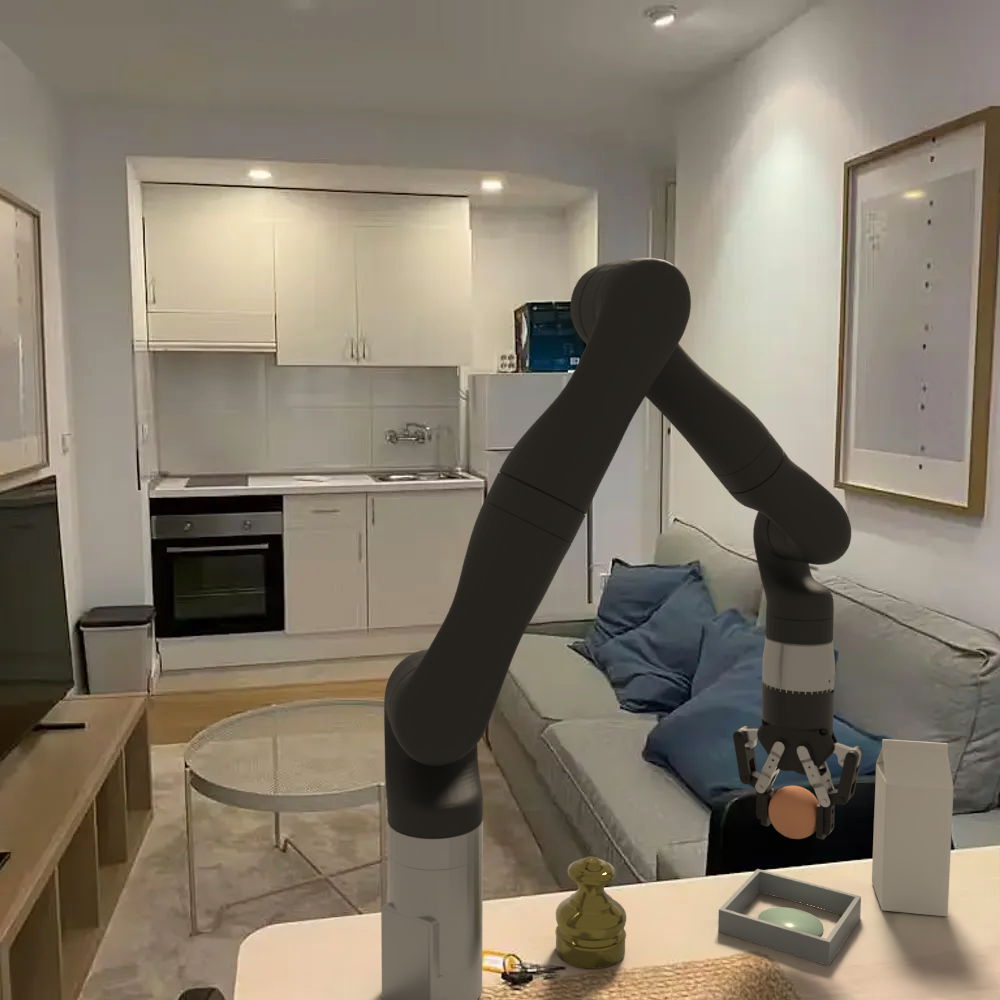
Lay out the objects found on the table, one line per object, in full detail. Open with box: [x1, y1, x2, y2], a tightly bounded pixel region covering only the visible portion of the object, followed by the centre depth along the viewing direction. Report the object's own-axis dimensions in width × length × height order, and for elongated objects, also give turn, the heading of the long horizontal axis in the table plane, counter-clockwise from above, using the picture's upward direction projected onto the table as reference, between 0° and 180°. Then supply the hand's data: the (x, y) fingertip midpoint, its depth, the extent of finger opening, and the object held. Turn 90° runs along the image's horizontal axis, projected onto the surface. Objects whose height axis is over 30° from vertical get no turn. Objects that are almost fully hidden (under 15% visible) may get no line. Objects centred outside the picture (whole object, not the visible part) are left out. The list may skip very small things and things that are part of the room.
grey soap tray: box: [717, 868, 862, 966], centre depth 112 cm, size 12×12×2 cm
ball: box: [768, 785, 819, 840], centre depth 111 cm, size 6×6×6 cm
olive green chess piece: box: [555, 856, 627, 969], centre depth 106 cm, size 7×7×10 cm
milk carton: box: [871, 738, 955, 917], centre depth 117 cm, size 7×7×19 cm
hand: (794, 829), depth 111 cm, fingers closed on ball, 5 cm apart
